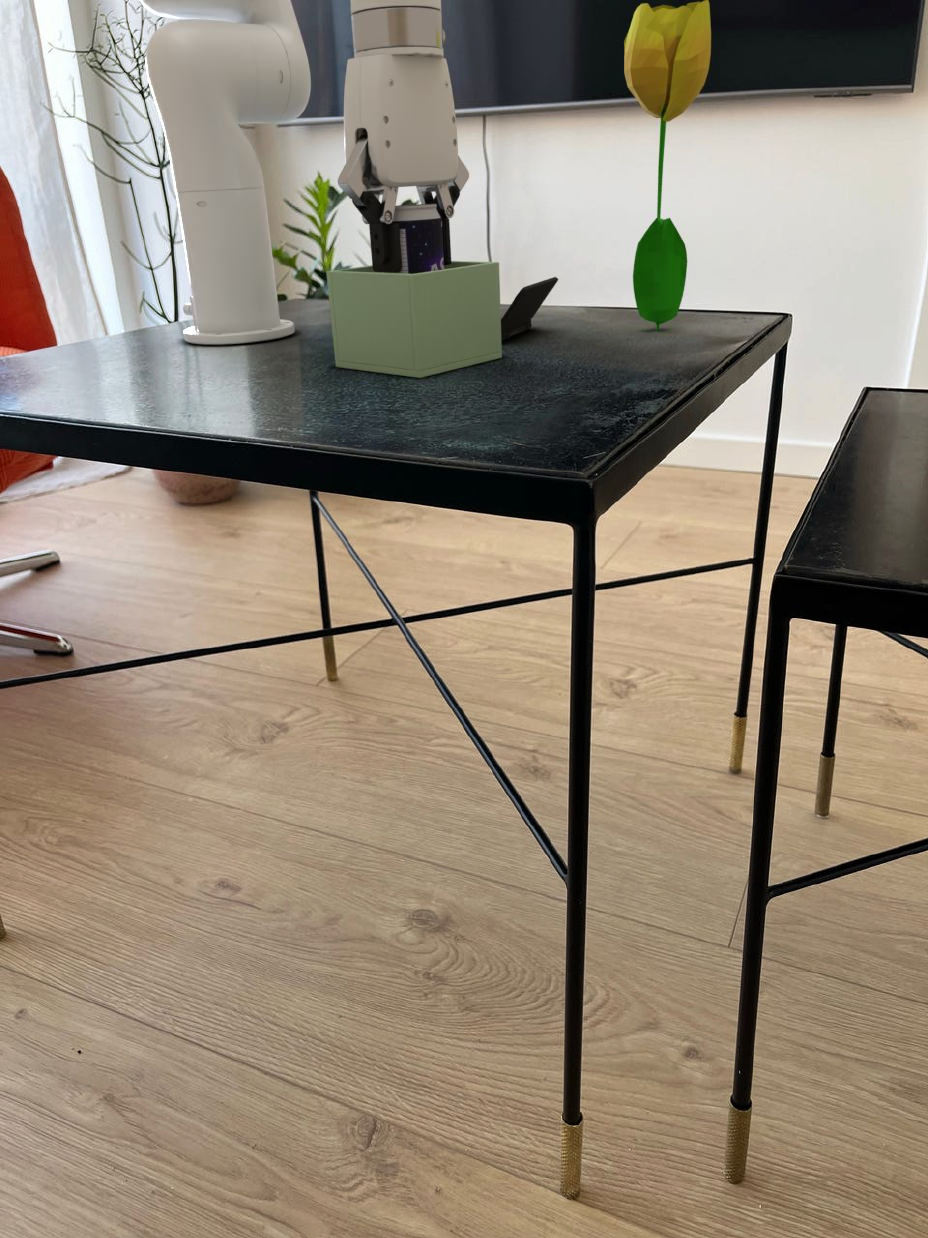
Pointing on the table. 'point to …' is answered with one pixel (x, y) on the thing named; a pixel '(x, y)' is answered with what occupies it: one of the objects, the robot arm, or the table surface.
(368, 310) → the pale green square box
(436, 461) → the table surface
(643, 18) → the flower
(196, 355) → the table surface
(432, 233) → the beverage can
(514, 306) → the black tablet stand
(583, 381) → the table surface
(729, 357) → the table surface
